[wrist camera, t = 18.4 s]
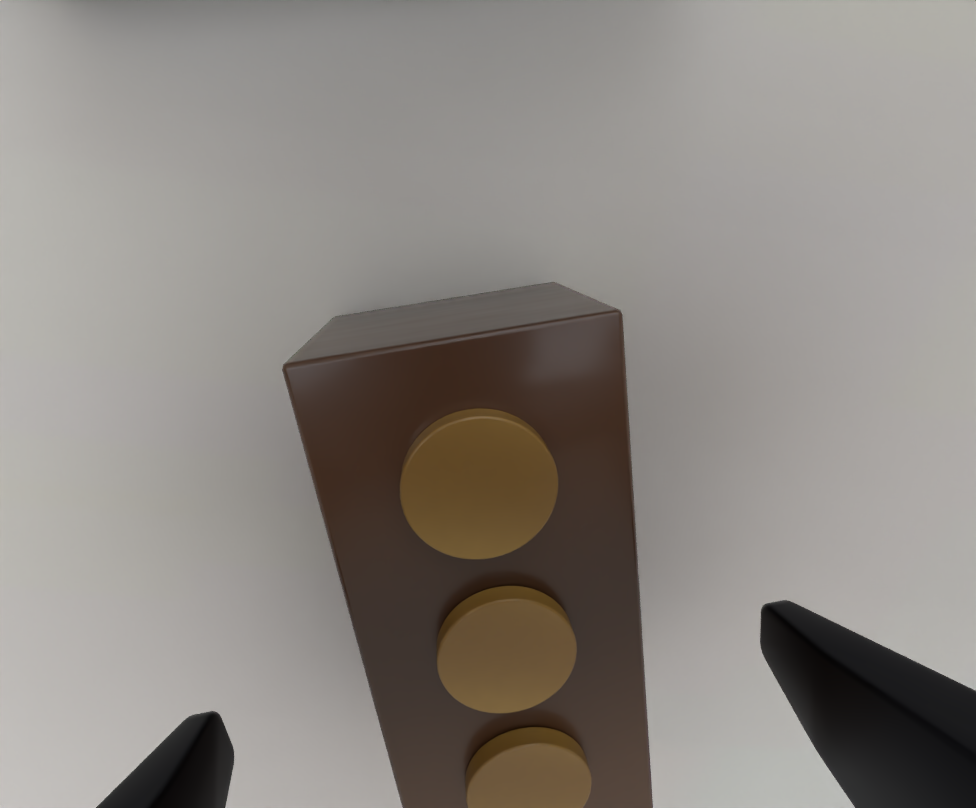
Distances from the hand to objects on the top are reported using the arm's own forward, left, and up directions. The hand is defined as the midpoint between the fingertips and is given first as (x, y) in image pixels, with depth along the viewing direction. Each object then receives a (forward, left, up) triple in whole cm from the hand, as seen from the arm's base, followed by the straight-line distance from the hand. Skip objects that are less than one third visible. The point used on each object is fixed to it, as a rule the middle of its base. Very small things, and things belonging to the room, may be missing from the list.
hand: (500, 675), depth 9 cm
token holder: (0, 0, -5) cm, 5 cm away
